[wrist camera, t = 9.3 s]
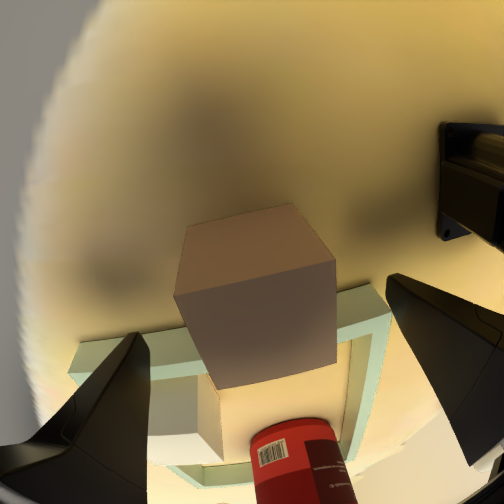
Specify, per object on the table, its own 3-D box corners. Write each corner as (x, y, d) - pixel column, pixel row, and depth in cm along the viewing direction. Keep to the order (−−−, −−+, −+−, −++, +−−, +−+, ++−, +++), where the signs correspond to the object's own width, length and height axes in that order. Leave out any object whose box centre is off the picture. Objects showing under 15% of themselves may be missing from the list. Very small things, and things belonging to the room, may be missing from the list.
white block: (198, 358, 16) (197, 432, 11) (219, 398, 18) (223, 462, 13) (130, 367, 16) (117, 435, 11) (160, 405, 18) (155, 465, 13)
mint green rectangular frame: (370, 283, 14) (392, 311, 12) (348, 441, 25) (354, 459, 22) (80, 342, 14) (67, 373, 12) (197, 470, 24) (198, 488, 22)
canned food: (243, 455, 23) (256, 550, 13) (256, 419, 19) (278, 547, 10) (315, 448, 24) (339, 535, 15) (344, 411, 21) (383, 519, 11)
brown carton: (292, 202, 12) (335, 259, 8) (303, 288, 14) (336, 362, 10) (187, 226, 12) (173, 296, 8) (214, 308, 14) (217, 390, 10)
